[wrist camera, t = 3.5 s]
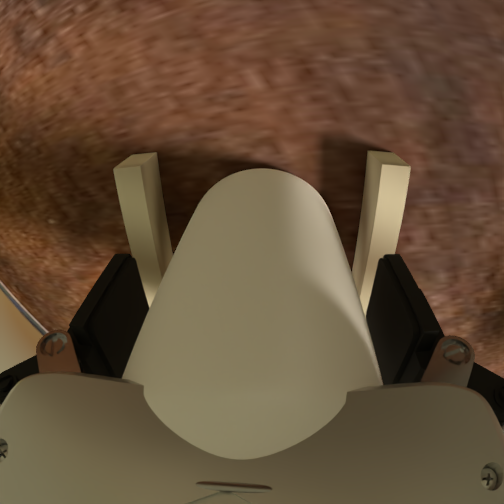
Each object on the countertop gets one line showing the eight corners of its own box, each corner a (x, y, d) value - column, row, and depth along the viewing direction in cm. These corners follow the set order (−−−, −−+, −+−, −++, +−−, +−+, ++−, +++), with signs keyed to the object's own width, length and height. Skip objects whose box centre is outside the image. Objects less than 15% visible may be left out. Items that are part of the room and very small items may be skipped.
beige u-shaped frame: (132, 154, 13) (74, 199, 9) (393, 152, 12) (446, 198, 8) (201, 426, 26) (193, 474, 22) (327, 429, 25) (330, 477, 21)
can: (227, 299, 17) (190, 530, 7) (170, 194, 14) (25, 450, 4) (345, 266, 16) (400, 516, 6) (308, 144, 13) (415, 450, 2)
